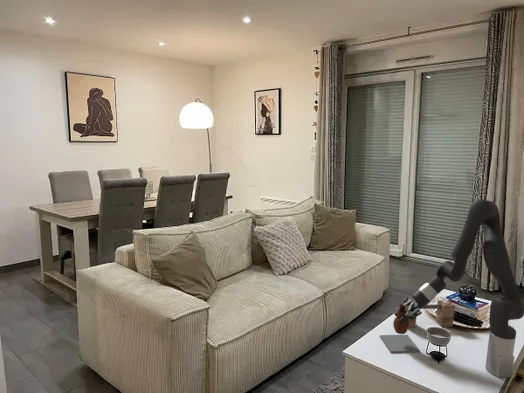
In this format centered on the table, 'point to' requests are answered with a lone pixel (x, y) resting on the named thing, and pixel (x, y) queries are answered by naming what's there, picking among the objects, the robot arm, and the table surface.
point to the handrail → (439, 313)
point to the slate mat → (399, 343)
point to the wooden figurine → (398, 326)
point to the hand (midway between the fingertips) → (398, 318)
